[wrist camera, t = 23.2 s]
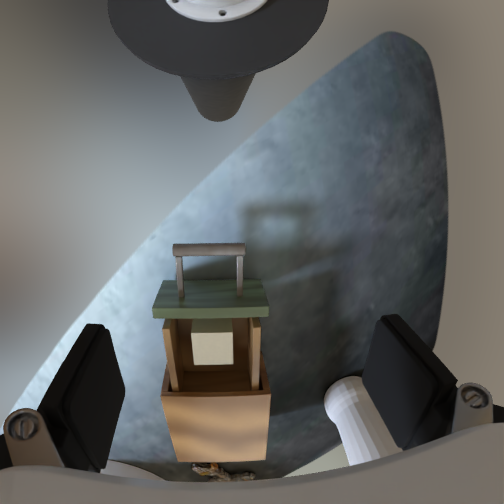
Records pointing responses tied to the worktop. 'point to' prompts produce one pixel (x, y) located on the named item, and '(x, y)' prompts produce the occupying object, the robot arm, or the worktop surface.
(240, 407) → the cabinet
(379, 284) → the worktop surface
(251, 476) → the brown textured figure
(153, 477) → the container
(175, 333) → the drawer
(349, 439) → the bottle
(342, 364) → the worktop surface
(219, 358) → the block
